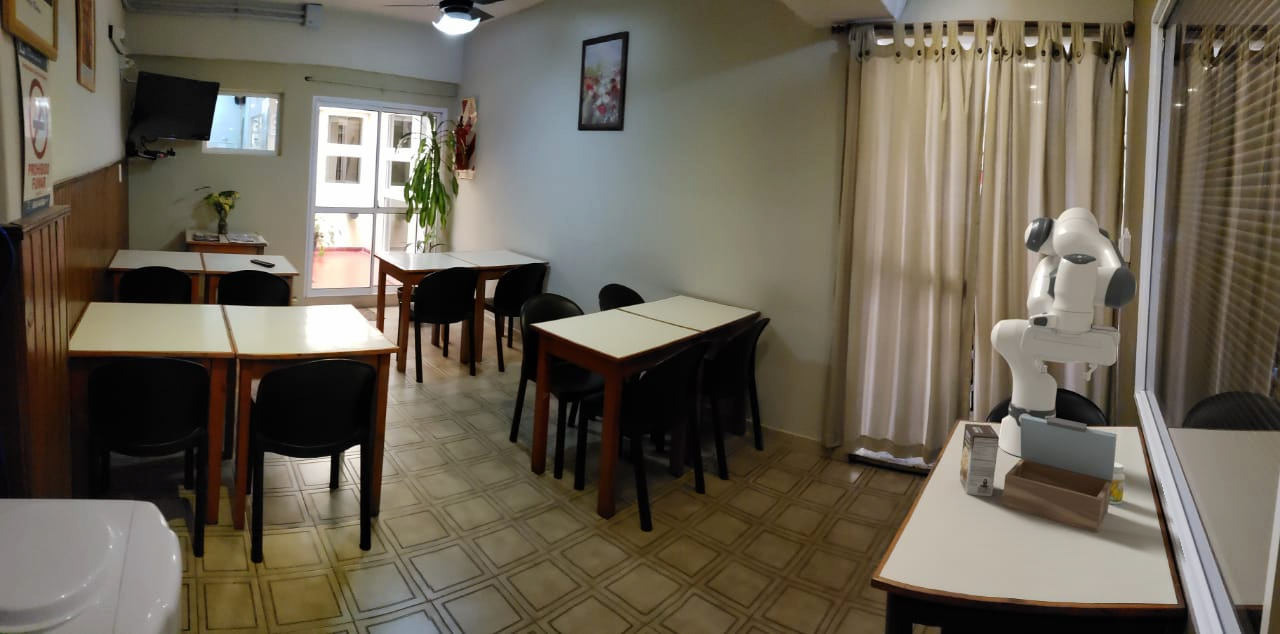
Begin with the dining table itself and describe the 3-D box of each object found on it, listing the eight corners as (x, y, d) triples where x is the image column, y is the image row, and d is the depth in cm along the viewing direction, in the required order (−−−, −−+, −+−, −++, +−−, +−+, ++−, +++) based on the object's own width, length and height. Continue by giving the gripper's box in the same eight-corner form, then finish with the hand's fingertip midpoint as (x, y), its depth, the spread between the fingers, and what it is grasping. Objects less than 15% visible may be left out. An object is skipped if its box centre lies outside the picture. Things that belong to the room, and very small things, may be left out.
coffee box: (958, 479, 189) (964, 422, 186) (983, 482, 188) (990, 424, 185) (966, 494, 180) (972, 434, 177) (993, 497, 179) (1000, 437, 176)
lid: (1020, 460, 183) (1022, 455, 184) (1111, 482, 170) (1113, 477, 171) (1019, 415, 175) (1021, 410, 177) (1115, 435, 162) (1116, 430, 163)
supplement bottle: (1126, 502, 177) (1131, 466, 175) (1112, 506, 175) (1118, 469, 173) (1104, 493, 182) (1110, 458, 180) (1091, 497, 180) (1096, 461, 178)
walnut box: (1017, 487, 185) (1021, 458, 183) (1107, 511, 172) (1112, 481, 170) (1001, 505, 174) (1005, 474, 173) (1096, 532, 161) (1101, 500, 160)
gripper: (1124, 325, 168) (1115, 382, 170) (1029, 314, 181) (1022, 366, 184) (1119, 329, 163) (1110, 387, 166) (1022, 317, 177) (1015, 371, 179)
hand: (1063, 376), depth 175 cm, fingers open, 8 cm apart
